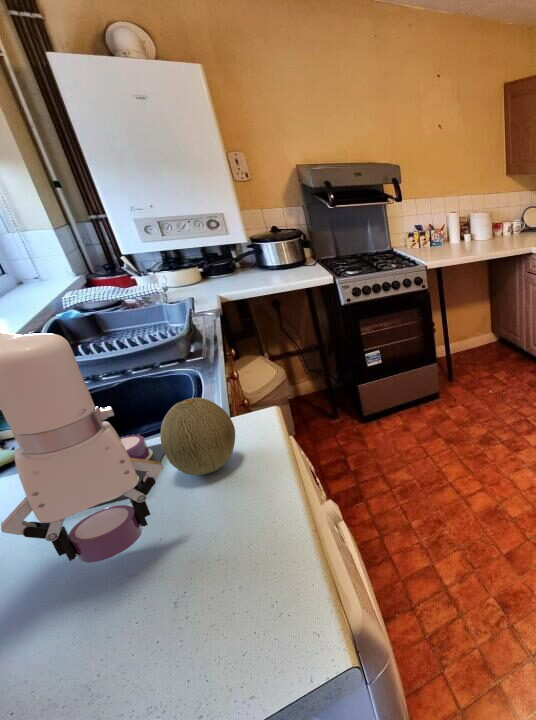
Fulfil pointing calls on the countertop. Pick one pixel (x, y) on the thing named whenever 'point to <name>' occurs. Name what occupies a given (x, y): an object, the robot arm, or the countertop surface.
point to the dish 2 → (136, 446)
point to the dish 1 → (105, 533)
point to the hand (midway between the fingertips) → (108, 536)
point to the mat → (154, 455)
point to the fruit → (197, 436)
